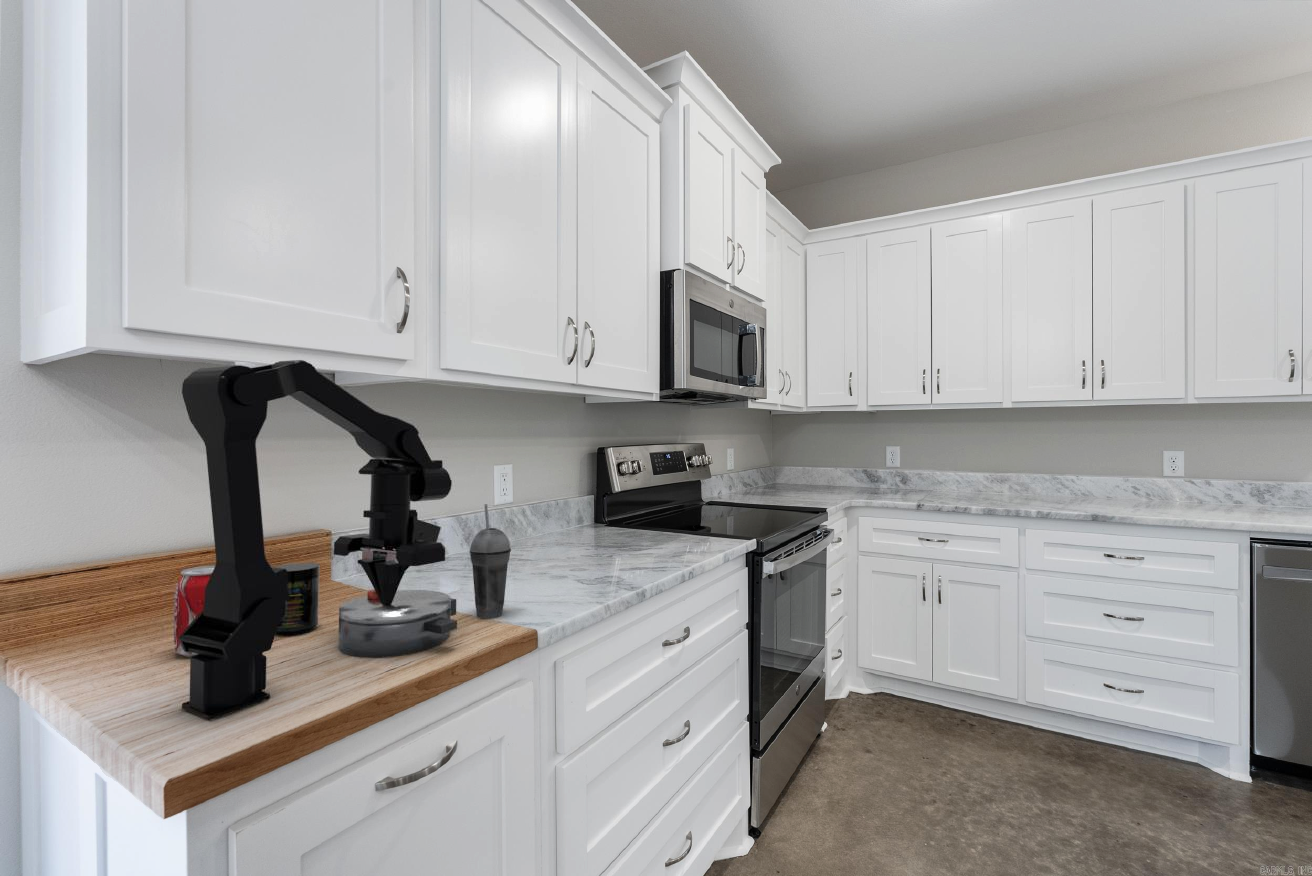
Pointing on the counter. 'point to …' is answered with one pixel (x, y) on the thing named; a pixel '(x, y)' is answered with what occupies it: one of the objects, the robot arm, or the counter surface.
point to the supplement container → (301, 599)
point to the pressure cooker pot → (396, 636)
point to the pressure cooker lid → (395, 607)
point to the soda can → (189, 601)
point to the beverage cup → (489, 570)
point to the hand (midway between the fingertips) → (386, 604)
